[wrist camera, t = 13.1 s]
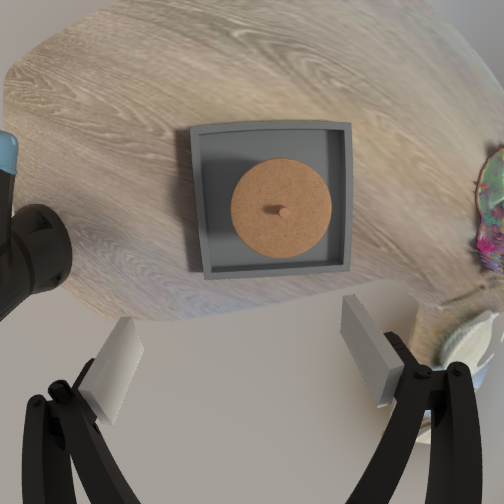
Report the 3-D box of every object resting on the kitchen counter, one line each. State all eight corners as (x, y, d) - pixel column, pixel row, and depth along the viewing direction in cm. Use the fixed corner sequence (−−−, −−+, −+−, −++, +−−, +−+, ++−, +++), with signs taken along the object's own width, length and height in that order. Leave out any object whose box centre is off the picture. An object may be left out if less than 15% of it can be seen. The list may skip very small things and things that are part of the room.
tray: (207, 272, 39) (204, 279, 37) (193, 129, 33) (189, 127, 30) (344, 264, 39) (349, 271, 37) (344, 124, 33) (351, 122, 30)
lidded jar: (232, 237, 37) (227, 263, 28) (234, 156, 34) (230, 155, 25) (311, 240, 37) (330, 265, 28) (317, 161, 34) (341, 162, 25)
